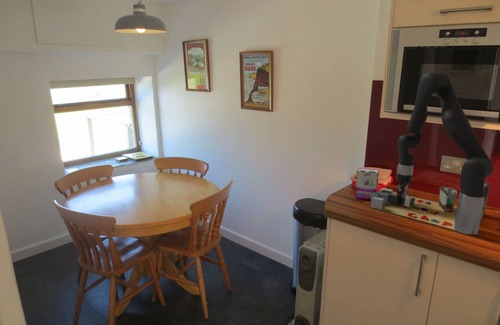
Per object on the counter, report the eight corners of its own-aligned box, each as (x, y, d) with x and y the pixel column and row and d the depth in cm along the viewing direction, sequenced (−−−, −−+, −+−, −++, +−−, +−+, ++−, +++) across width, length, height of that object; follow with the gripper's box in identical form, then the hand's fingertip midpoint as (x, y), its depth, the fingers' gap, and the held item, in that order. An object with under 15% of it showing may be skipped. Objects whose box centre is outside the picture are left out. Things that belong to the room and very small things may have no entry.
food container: (459, 214, 167) (462, 195, 164) (445, 213, 168) (448, 194, 165) (450, 204, 178) (453, 186, 175) (437, 203, 179) (440, 186, 177)
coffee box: (481, 219, 161) (488, 188, 156) (466, 215, 165) (472, 185, 160) (484, 213, 167) (490, 183, 163) (469, 210, 171) (475, 180, 167)
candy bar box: (376, 198, 187) (379, 169, 183) (375, 201, 183) (378, 172, 179) (355, 195, 192) (358, 167, 187) (354, 198, 187) (357, 170, 183)
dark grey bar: (413, 205, 177) (414, 198, 176) (411, 207, 174) (412, 200, 173) (382, 198, 187) (383, 191, 186) (380, 200, 184) (381, 193, 182)
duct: (391, 198, 187) (393, 188, 185) (381, 209, 172) (382, 198, 171) (381, 195, 190) (382, 186, 189) (369, 206, 176) (370, 196, 174)
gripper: (409, 177, 167) (404, 209, 172) (415, 170, 178) (411, 200, 182) (393, 174, 171) (389, 205, 176) (400, 168, 182) (397, 197, 187)
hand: (400, 203), depth 179 cm, fingers closed on dark grey bar, 4 cm apart
